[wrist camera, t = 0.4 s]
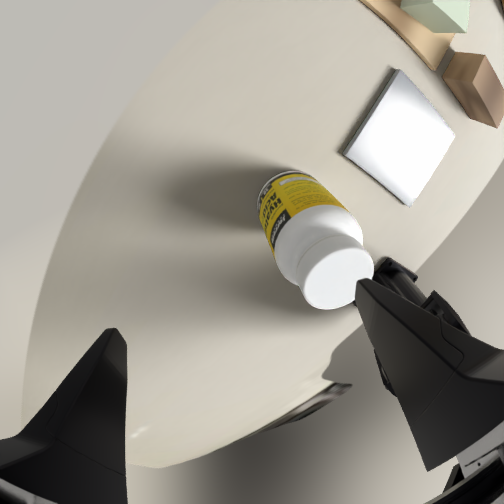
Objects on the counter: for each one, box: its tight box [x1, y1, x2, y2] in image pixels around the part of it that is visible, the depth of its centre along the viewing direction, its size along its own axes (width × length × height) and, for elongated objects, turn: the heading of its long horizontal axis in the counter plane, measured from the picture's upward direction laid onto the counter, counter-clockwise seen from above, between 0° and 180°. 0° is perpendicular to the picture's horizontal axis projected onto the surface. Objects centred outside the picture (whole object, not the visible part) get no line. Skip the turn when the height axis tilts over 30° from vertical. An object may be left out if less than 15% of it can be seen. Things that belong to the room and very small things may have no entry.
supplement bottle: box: [257, 171, 374, 310], centre depth 17 cm, size 5×5×10 cm
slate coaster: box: [342, 69, 455, 208], centre depth 19 cm, size 9×9×1 cm
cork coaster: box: [360, 0, 455, 70], centre depth 12 cm, size 9×9×1 cm
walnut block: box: [442, 52, 504, 128], centre depth 15 cm, size 6×4×4 cm, turn 59°
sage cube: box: [400, 0, 470, 33], centre depth 10 cm, size 4×4×4 cm
